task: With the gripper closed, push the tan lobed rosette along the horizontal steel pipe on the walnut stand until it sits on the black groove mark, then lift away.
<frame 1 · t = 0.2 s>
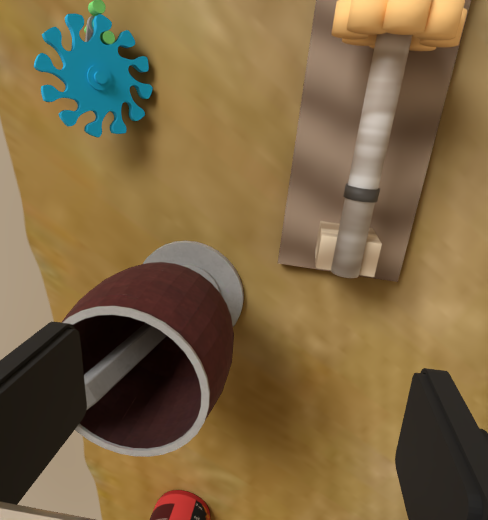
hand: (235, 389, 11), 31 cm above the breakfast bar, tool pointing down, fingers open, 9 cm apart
tan lobed rosette: (396, 23, 28), point 7 cm above the breakfast bar, slide at 0.0 cm
pipe stand: (366, 115, 36), on the breakfast bar
canned food: (184, 507, 56), on the breakfast bar
mate gourd: (184, 294, 45), on the breakfast bar
gear: (117, 76, 39), on the breakfast bar
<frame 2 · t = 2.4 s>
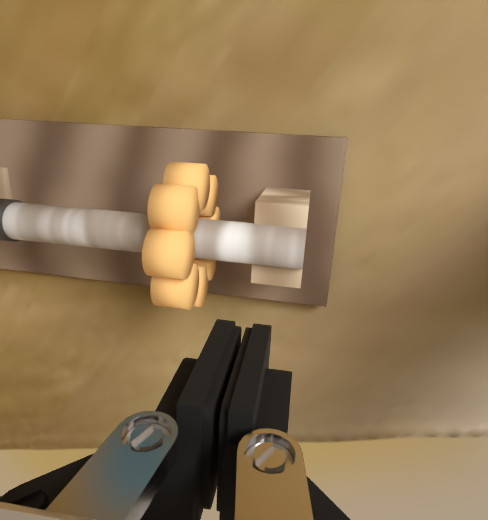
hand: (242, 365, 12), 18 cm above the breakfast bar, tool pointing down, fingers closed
tan lobed rosette: (187, 237, 24), point 7 cm above the breakfast bar, slide at 0.0 cm
pipe stand: (138, 207, 31), on the breakfast bar
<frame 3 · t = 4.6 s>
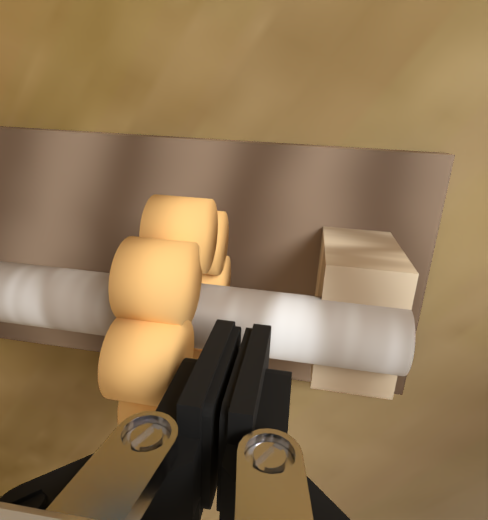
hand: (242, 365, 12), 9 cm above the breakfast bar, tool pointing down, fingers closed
tan lobed rosette: (181, 313, 15), point 6 cm above the breakfast bar, slide at 1.1 cm, touching gripper
pipe stand: (131, 249, 22), on the breakfast bar
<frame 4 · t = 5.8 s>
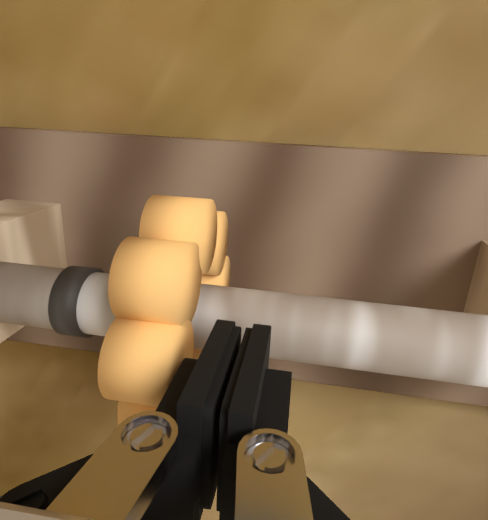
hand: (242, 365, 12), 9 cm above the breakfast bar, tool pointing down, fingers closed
tan lobed rosette: (181, 313, 15), point 6 cm above the breakfast bar, slide at 8.0 cm, touching gripper
pipe stand: (256, 262, 21), on the breakfast bar
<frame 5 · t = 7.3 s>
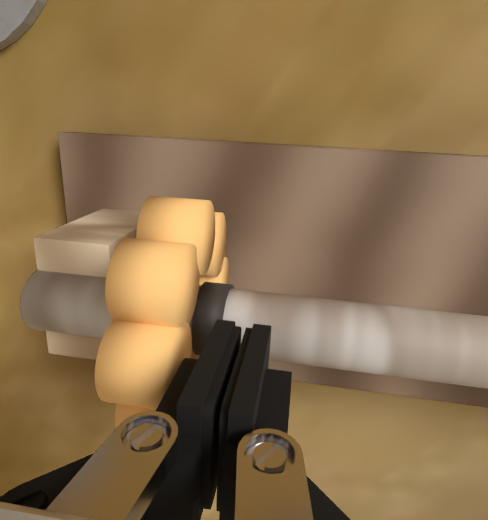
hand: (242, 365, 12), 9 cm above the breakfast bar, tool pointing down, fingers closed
tan lobed rosette: (179, 315, 15), point 7 cm above the breakfast bar, slide at 13.4 cm, touching gripper
pipe stand: (361, 273, 20), on the breakfast bar
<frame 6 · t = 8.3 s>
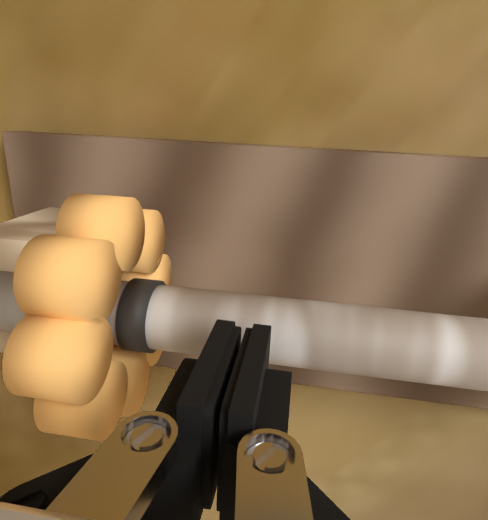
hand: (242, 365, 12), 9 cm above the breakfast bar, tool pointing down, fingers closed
tan lobed rosette: (109, 311, 15), point 6 cm above the breakfast bar, slide at 13.4 cm
pipe stand: (306, 270, 20), on the breakfast bar
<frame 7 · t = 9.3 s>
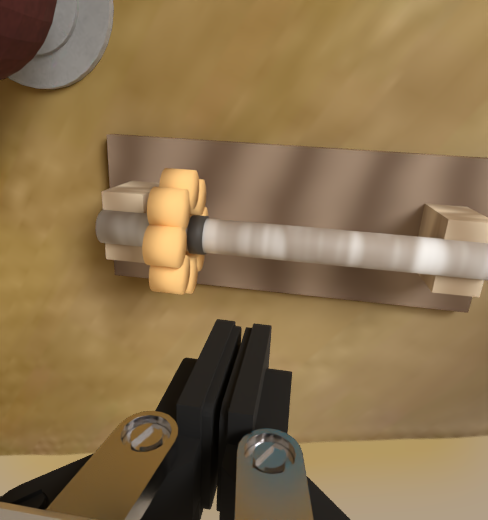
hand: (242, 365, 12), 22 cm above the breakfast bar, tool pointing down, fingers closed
tan lobed rosette: (180, 233, 28), point 7 cm above the breakfast bar, slide at 13.4 cm
pipe stand: (289, 220, 33), on the breakfast bar
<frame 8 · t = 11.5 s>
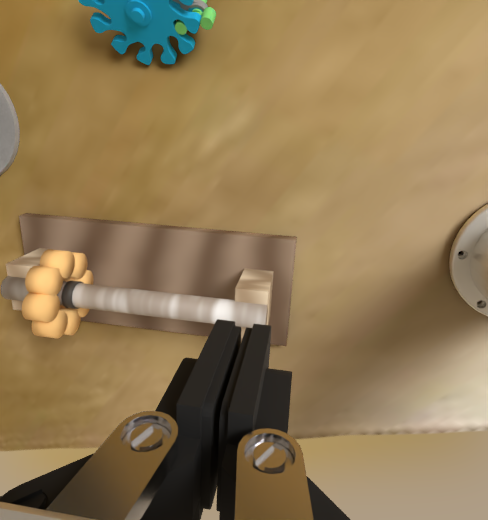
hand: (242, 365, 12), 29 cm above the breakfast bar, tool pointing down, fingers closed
tan lobed rosette: (61, 293, 39), point 6 cm above the breakfast bar, slide at 13.4 cm
pipe stand: (156, 276, 45), on the breakfast bar
gear: (163, 21, 36), on the breakfast bar
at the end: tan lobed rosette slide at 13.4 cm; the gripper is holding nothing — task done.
